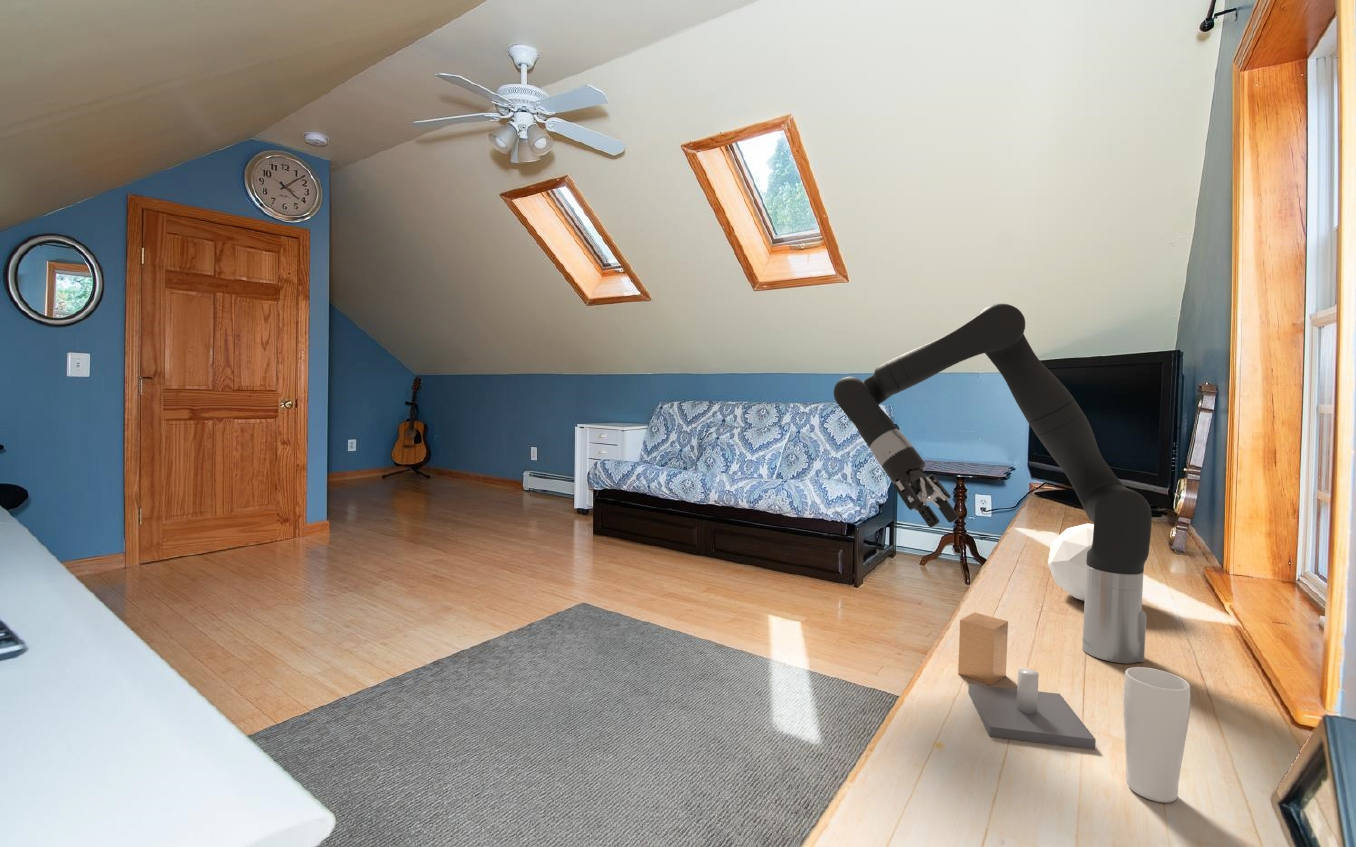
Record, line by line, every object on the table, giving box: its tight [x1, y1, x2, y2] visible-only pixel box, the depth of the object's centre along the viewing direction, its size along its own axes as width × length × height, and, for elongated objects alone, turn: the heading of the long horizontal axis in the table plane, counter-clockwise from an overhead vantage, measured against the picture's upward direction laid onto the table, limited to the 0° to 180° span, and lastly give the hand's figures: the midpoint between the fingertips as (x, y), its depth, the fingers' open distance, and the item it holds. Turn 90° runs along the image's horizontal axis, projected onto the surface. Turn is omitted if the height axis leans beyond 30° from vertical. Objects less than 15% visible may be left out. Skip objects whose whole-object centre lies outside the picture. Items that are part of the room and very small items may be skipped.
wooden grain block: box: [957, 612, 1009, 687], centre depth 114 cm, size 6×6×10 cm
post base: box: [968, 667, 1097, 750], centre depth 98 cm, size 14×14×8 cm
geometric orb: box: [1047, 523, 1094, 602], centre depth 155 cm, size 19×20×20 cm
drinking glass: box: [1122, 666, 1191, 804], centre depth 80 cm, size 7×7×15 cm
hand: (945, 522), depth 123 cm, fingers open, 8 cm apart
